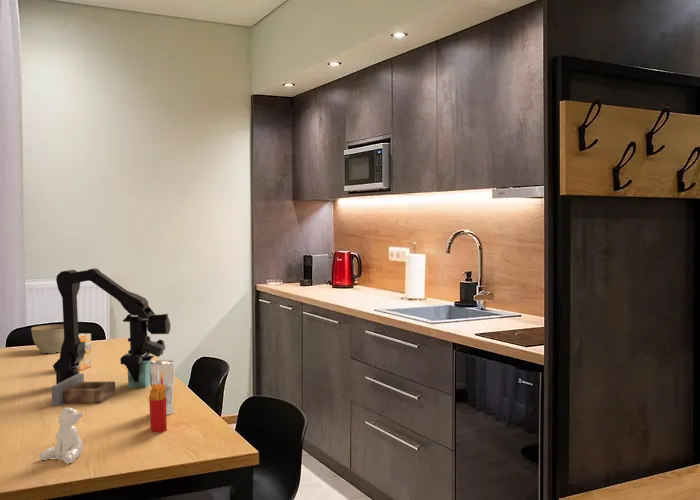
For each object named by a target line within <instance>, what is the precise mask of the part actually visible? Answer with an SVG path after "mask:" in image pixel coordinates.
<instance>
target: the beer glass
mask: <svg viewBox="0 0 700 500" xmlns="http://www.w3.org/2000/svg"><path fill="white" fill-rule="evenodd" d="M174 363H175V362H174V360H171V359H159V360H153V361H151V363H150V383H151V384H150V388H151V389H152V385H153V384H157V385H158V384H159V386H160V385H161V384H162V385H165V388H166V391H165V397H166V416H168V415H172V414H174V413H175V408H174V404H173V398H174V397H173V396H174V394H173V393H174V389H175V378H176V375H175V374H176V373H175V366H174V365H175V364H174Z"/></svg>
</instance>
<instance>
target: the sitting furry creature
mask: <svg viewBox="0 0 700 500" xmlns="http://www.w3.org/2000/svg"><path fill="white" fill-rule="evenodd" d="M82 417H83V412H79V411H78V410H77V409H75V408H73V407H70V406H69V407H64V408H63V409H62V410H61V412H60V414H59V416H58V418H59V419H58V420H59V421H58V423H59V426H60V427H59V428H58V431H57V433H56V434H55V438H56V446H52V447H48V448H46V449H44V450H43V451H42V452H39V455H38V456H39V459H40V460H41V459H42V460H45V459H50V458H55V459H60V458H61V460H64V461H63V463H64V464H65V463H71V462H73V461H74V460H75V461H76V460H77V459H78V458H77V457H80V455H81V454H82V453H83V448H84V442H83V439H81V436H80V434H79V430H78V429H77V427H76V426H75V425H76V424H77V423H78V422H79V420H80V419H81V418H82ZM76 458H77V459H76ZM42 460H41V461H42ZM61 460H60V461H61ZM75 461H74V462H75ZM74 462H73V463H74ZM71 464H72V463H71Z"/></svg>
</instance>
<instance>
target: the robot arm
mask: <svg viewBox="0 0 700 500" xmlns="http://www.w3.org/2000/svg"><path fill="white" fill-rule="evenodd" d="M55 281H56V286H57V289H58V291H59V294H60V295H61V299H62V300H61V301H62V319H63V321H62V322H63V323H62V325H64V341H63V344H62V347H61V352H59V358H58V359H57V360H56V362H54V363H53V365H52V367H53V369H54V372H55V381H56V384H58V383H60V382H62V381H64V380H66V379H68V378H70V377H72V376H74V375H76V374H80V371H78V367H76V366H78V365H79V362H80V361H81V360H82V359H83V358H84V354H85V353H86V351H85V342H81V341H80V339H79V336H78V334H79V319H78V315H79V314H78V294H79V290H80V287H81V283H83V282H91V283H93V284H94V285H96V286H97V287H99V288H100V289H101V290H103V291H105V292H106V293H107V294H108V295H109V296H111V297H113V298H114V299H116V300H117V301H118V302H119V303H120V305H121V306H122V308H123V309H124V310H125V311H127V313H128V314H127V315H126V317H124V319H122V321H123V322H124V323H127V322H128V323H129V337H128V338H127V342H129V346H130V347H129V348H130V349H129V350H127V353H125V354H123V355H122V356H121V357H120V365H124V366H125V367H126V369H127V371H128V370H129V372H130V374H131V376H132V378H133V379H134V381H135V382H138V381H139V373H140V366H141V365H142V364H143V363H144V362H142V361H152V359H153V358H154V357H156V358H157V357H161V356H162V355H163V354H164V351H165V350H166V344H165V340H164V339H158V340H157V341H152V340H151V337H150V335H169V334H170V332H171V322H170V318H169V314H168V313H162V314H155V312H154V311H153V310H152V308H151V307H150V306H149V301H148V300H147V299H146V297H144V296H142V295H139V294H137V293H135V292H131V291H129V290H127V289H125V288H124V287H123V286H121V285H119V283H118V282H115V281H114V280H113V279H112V278H110V277H108V276H107V275H106V274H104V273H102V272H101V271H100V269H99V268H89V269H87V270H81V271H77V270H75V269H68V270H62V271H60V272H59V273H58V274H57V275H56V278H55ZM148 333H150V335H148ZM56 384H55V385H56Z"/></svg>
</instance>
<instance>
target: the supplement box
mask: <svg viewBox="0 0 700 500" xmlns="http://www.w3.org/2000/svg"><path fill="white" fill-rule="evenodd" d="M78 336H79V339H80V341H81V342H85V351H86V353H85V354H84V358H83V359H82V360H81V361H80V362H79V365H78V366H76V367H78V372H81V371H83V370H86V369H89V368H92V364H93V363H92V334H91V333H78Z"/></svg>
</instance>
